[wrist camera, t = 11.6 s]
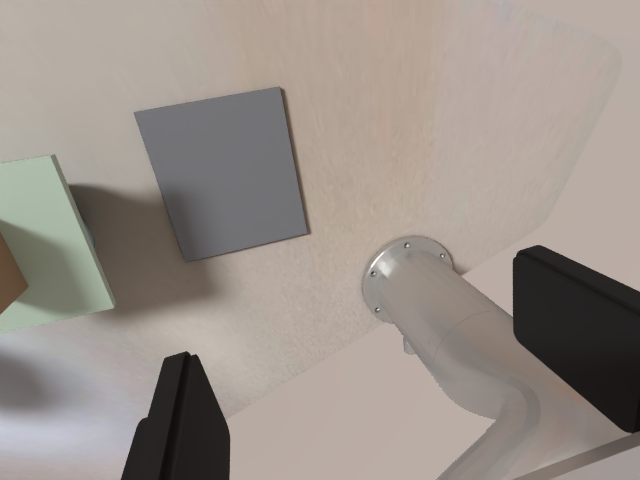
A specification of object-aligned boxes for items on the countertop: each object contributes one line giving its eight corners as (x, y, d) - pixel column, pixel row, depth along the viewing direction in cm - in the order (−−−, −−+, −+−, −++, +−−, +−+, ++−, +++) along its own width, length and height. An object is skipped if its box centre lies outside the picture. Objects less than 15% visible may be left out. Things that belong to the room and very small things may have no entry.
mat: (306, 231, 44) (307, 233, 43) (185, 260, 41) (185, 262, 41) (279, 86, 37) (279, 86, 37) (135, 111, 35) (133, 112, 35)
